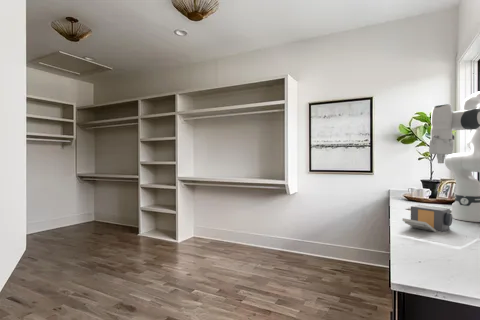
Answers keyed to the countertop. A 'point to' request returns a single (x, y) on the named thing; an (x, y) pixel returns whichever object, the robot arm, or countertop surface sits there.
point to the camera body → (432, 216)
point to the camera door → (419, 225)
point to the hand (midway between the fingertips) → (440, 163)
